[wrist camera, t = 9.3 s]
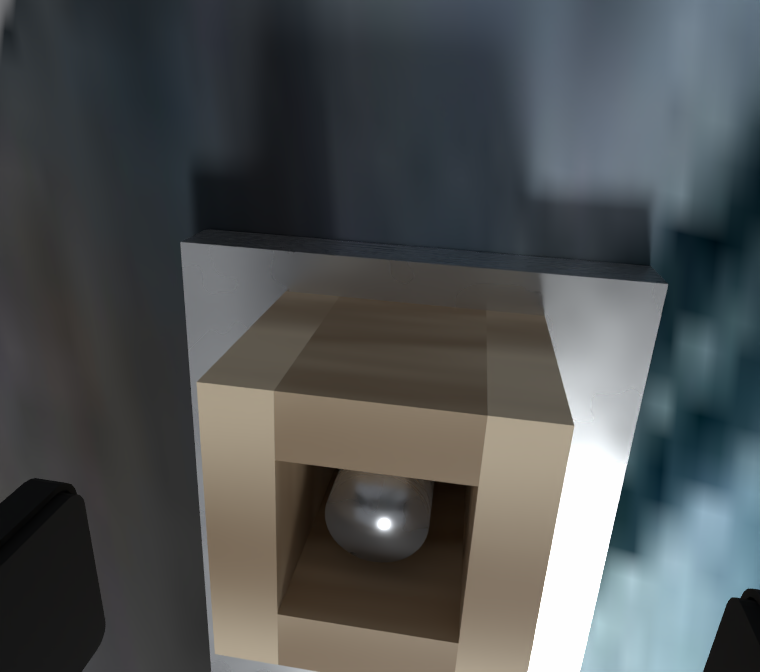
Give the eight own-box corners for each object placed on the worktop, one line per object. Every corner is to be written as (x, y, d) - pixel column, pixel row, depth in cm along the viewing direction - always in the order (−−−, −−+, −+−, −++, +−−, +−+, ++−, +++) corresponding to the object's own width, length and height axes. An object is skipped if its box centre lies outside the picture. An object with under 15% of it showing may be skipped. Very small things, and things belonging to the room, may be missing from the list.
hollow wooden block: (285, 291, 15) (196, 382, 10) (544, 315, 14) (574, 426, 9) (287, 501, 17) (214, 653, 12) (511, 532, 16) (521, 706, 12)
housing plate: (206, 229, 16) (79, 292, 11) (650, 266, 15) (738, 357, 10) (230, 657, 22) (153, 830, 17) (554, 713, 20) (578, 919, 15)
